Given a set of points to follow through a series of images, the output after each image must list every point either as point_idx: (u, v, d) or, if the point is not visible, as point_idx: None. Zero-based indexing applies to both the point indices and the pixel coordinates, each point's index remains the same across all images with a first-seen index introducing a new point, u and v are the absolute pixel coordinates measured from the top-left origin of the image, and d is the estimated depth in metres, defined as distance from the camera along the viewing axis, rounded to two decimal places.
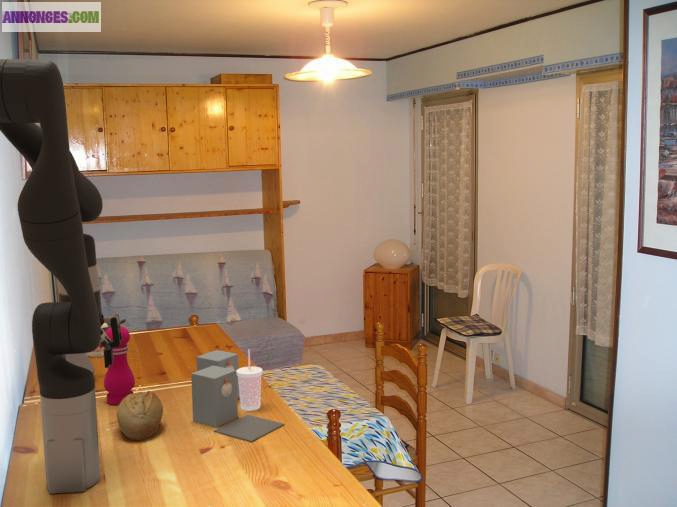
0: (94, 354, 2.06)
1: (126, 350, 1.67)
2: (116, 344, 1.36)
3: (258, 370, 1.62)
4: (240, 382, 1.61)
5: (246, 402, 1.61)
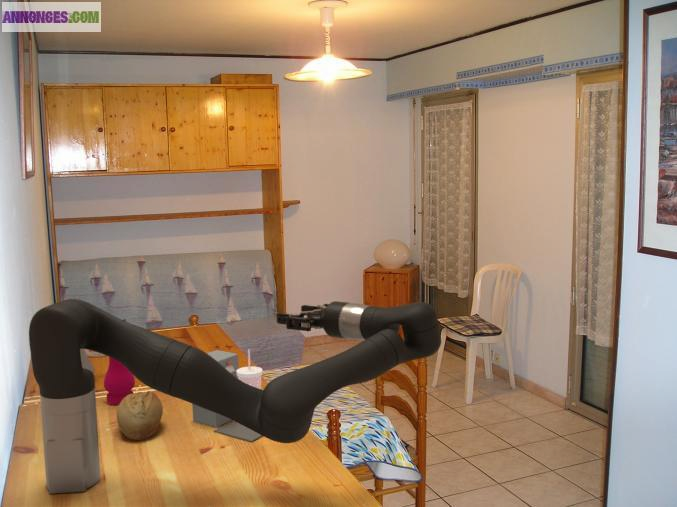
0: (94, 354, 2.06)
1: None
2: None
3: (258, 370, 1.62)
4: None
5: None
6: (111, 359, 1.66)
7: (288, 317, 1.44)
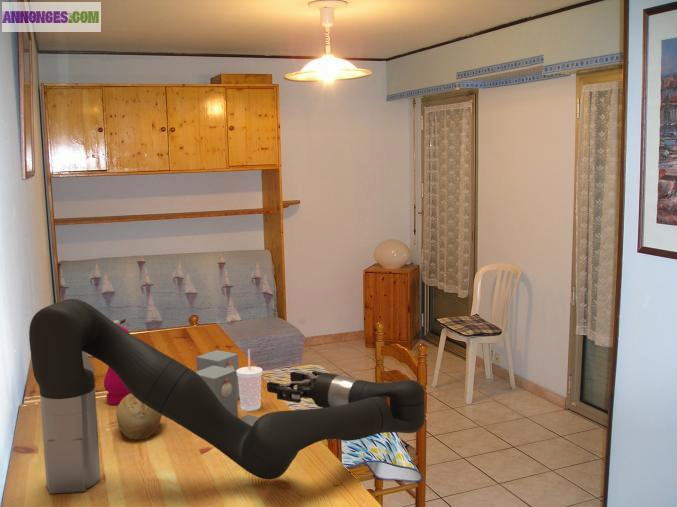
0: None
1: None
2: None
3: (258, 370, 1.62)
4: (240, 382, 1.61)
5: (246, 402, 1.61)
6: None
7: (279, 388, 1.49)
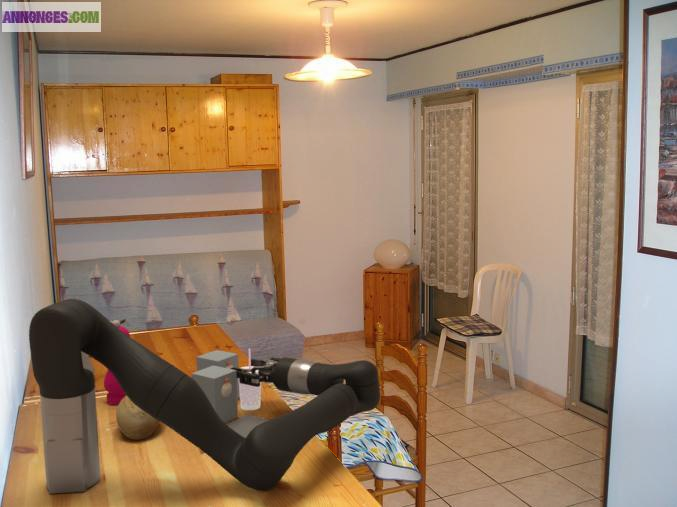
0: None
1: None
2: None
3: None
4: None
5: (246, 401, 1.61)
6: None
7: (241, 372, 1.56)
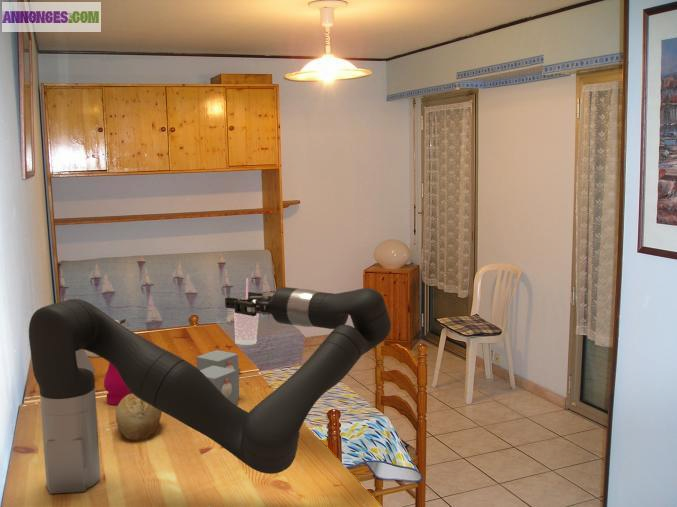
0: (94, 354, 2.06)
1: None
2: None
3: None
4: (236, 313, 1.47)
5: (241, 335, 1.47)
6: None
7: (236, 301, 1.42)
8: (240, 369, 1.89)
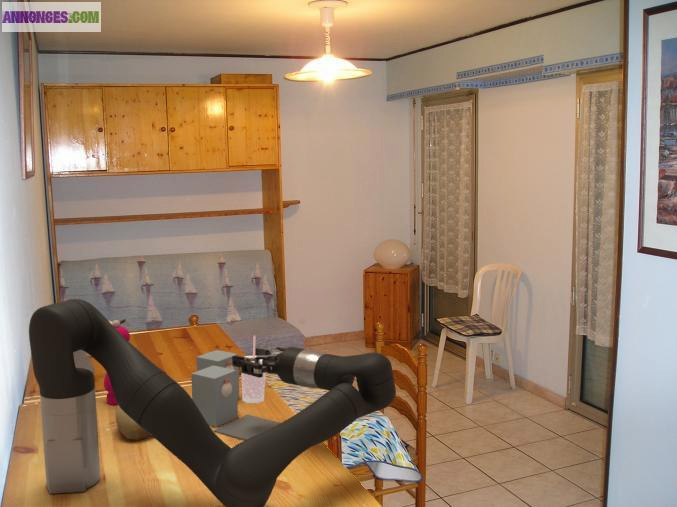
0: None
1: None
2: None
3: None
4: None
5: (248, 393, 1.47)
6: None
7: (243, 361, 1.42)
8: None
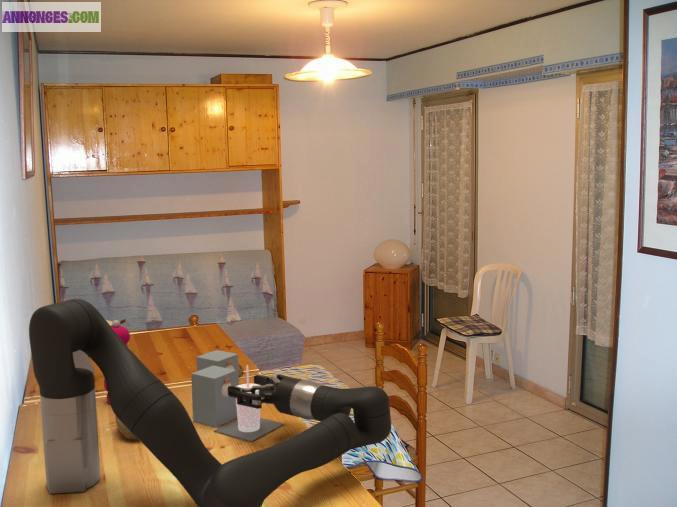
0: None
1: None
2: None
3: None
4: None
5: (244, 423, 1.47)
6: None
7: (239, 392, 1.42)
8: (243, 369, 1.90)
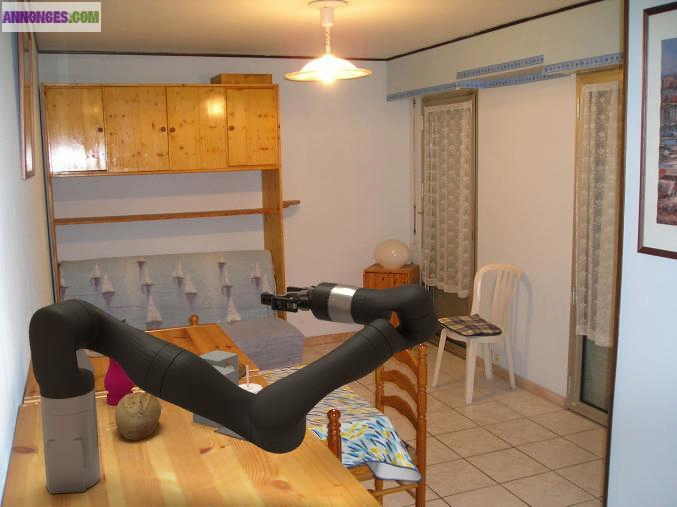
0: (94, 354, 2.06)
1: None
2: None
3: (257, 388, 1.49)
4: None
5: None
6: (111, 359, 1.66)
7: (273, 297, 1.35)
8: None
